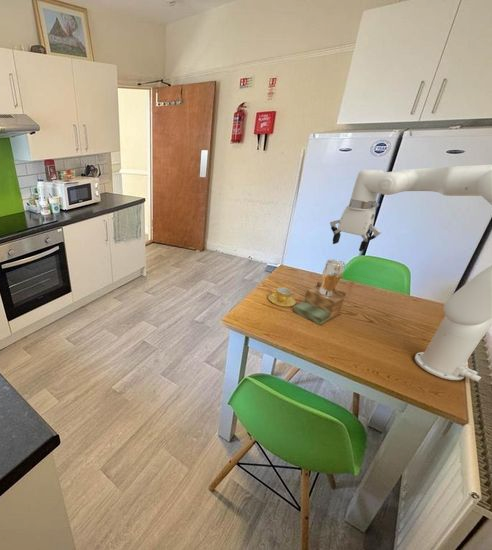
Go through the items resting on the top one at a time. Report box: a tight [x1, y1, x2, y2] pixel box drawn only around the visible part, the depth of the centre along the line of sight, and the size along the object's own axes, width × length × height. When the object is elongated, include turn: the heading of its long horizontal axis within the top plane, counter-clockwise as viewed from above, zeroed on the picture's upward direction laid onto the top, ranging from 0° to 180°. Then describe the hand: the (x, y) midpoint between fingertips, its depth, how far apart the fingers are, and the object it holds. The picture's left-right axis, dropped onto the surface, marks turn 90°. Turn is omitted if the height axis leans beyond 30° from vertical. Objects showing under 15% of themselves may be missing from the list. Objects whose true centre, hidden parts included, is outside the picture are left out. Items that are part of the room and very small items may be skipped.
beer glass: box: [318, 258, 346, 297], centre depth 127 cm, size 7×7×15 cm
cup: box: [267, 286, 297, 307], centre depth 142 cm, size 12×12×5 cm
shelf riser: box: [292, 281, 348, 326], centre depth 131 cm, size 12×15×11 cm
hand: (348, 246), depth 119 cm, fingers open, 9 cm apart
